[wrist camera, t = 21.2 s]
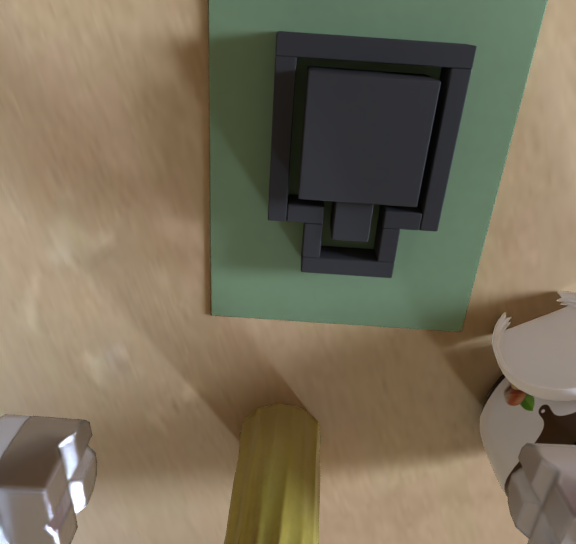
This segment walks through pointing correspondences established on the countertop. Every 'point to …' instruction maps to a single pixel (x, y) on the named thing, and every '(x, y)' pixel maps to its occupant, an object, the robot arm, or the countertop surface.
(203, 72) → the countertop surface
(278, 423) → the vase
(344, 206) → the plug
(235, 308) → the socket mat
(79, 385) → the countertop surface
